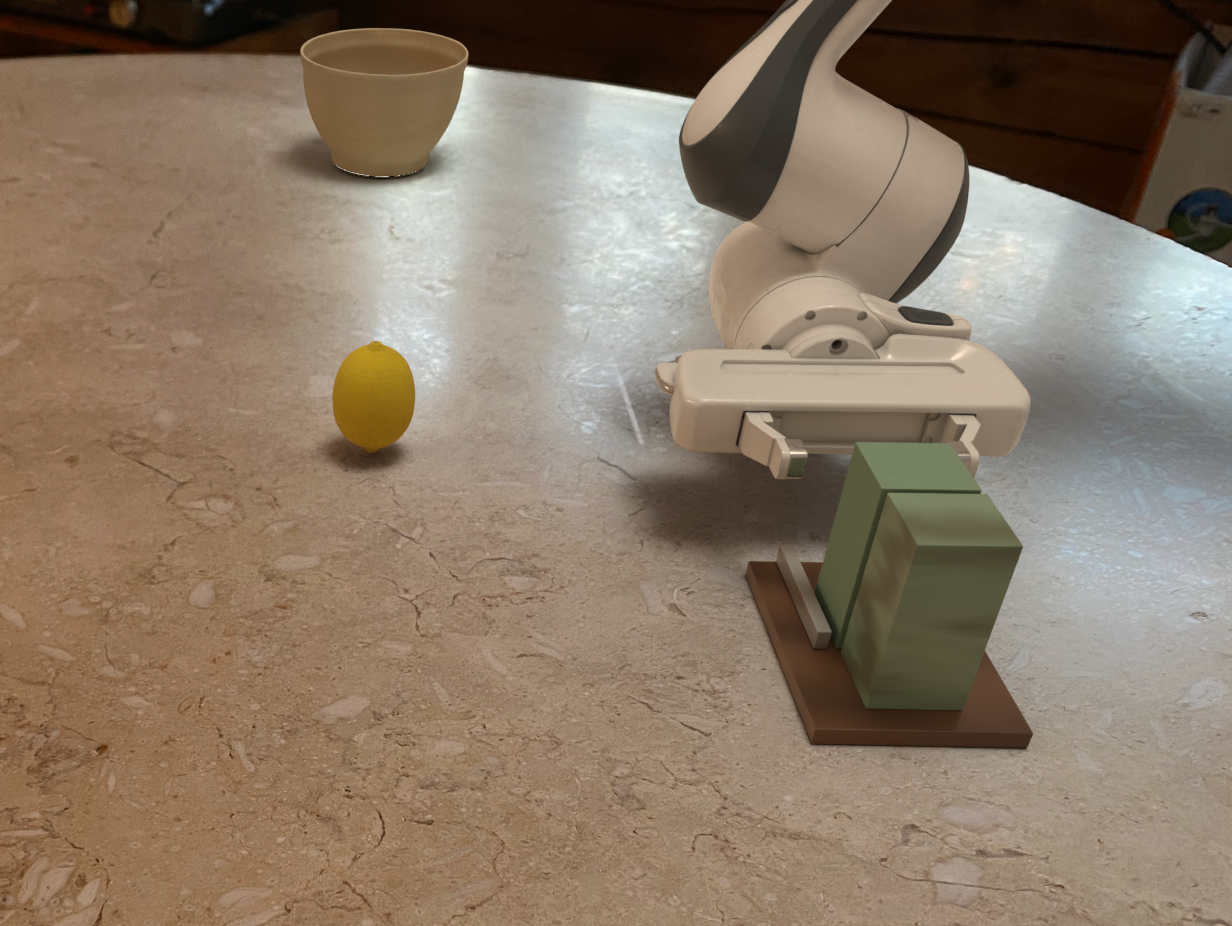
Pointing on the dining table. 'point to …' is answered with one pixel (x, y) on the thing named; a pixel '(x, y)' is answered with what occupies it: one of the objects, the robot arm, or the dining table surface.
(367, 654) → the dining table surface
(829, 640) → the mount board
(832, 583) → the back pad
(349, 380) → the lemon
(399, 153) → the planter bowl
